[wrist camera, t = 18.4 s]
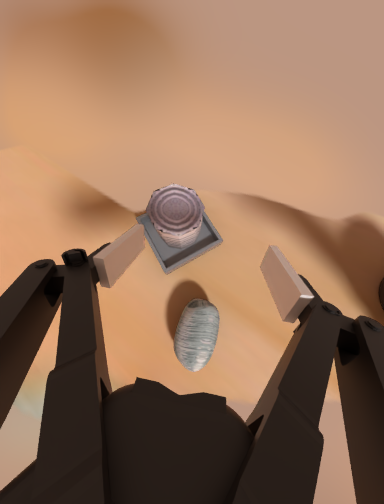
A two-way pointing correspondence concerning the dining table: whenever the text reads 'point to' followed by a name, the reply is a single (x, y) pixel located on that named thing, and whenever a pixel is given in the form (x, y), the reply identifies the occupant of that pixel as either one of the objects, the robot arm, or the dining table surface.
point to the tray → (177, 257)
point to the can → (176, 215)
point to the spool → (196, 334)
